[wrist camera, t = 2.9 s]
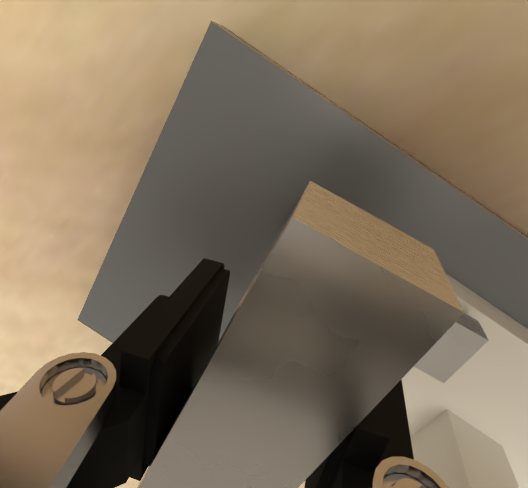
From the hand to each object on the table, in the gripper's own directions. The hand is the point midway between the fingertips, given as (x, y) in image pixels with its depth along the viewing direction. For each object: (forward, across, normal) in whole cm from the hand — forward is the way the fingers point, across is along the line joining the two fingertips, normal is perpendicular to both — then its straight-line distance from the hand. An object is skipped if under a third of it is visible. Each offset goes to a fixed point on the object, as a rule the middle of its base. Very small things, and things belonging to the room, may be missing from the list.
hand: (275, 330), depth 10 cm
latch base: (+9, -3, +6) cm, 11 cm away
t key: (+7, -3, +1) cm, 8 cm away
